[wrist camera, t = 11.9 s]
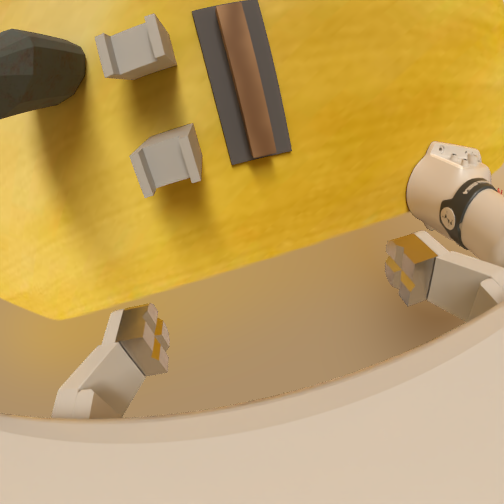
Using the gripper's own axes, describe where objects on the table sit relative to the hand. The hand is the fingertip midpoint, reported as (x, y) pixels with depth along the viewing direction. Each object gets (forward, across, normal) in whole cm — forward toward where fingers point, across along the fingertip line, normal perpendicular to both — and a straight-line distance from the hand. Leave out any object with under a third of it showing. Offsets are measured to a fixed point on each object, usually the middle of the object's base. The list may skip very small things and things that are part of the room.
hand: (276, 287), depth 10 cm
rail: (+34, +5, +7) cm, 35 cm away
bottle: (+35, -21, +18) cm, 45 cm away
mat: (+35, +5, +7) cm, 36 cm away
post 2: (+35, -7, 0) cm, 36 cm away
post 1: (+35, -7, +14) cm, 38 cm away
